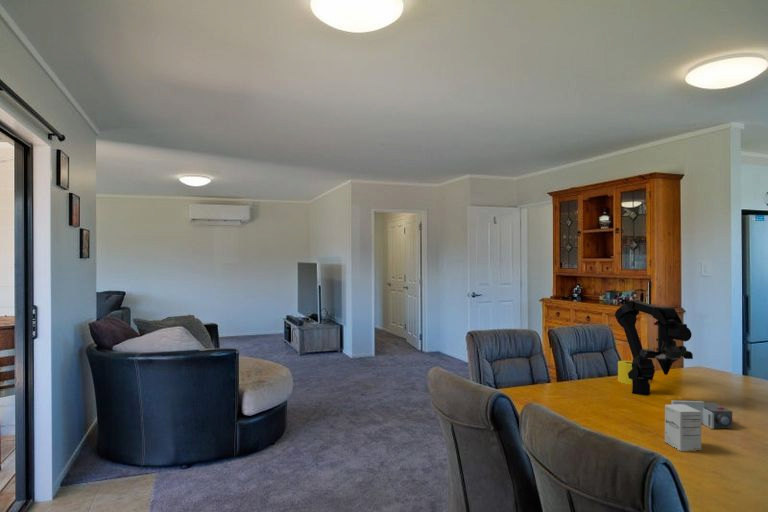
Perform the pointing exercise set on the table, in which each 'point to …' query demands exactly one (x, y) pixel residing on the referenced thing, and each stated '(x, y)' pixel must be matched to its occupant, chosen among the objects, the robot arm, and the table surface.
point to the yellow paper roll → (624, 371)
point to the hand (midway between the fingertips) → (665, 374)
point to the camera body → (720, 415)
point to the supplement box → (683, 427)
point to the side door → (706, 415)
